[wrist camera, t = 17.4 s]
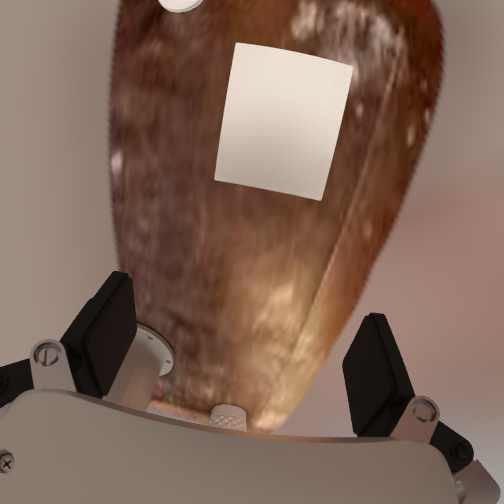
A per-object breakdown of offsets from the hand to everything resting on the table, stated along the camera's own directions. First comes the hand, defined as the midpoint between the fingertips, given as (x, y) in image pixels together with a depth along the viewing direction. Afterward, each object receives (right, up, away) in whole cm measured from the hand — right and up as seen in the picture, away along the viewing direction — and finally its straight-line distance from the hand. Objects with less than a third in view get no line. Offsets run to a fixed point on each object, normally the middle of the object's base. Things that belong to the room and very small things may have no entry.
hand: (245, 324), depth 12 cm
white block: (+3, +16, +15) cm, 22 cm away
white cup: (-4, -28, +42) cm, 51 cm away
